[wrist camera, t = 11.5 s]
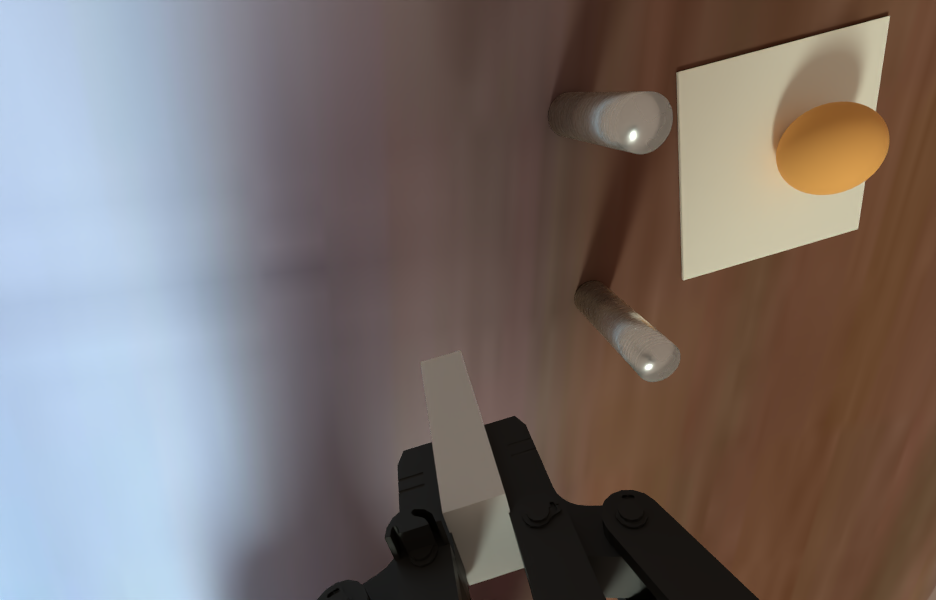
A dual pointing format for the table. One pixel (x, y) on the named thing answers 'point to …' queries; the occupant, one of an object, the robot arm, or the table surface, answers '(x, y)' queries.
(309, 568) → the table surface
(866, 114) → the ball
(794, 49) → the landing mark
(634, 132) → the post
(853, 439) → the table surface
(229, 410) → the table surface
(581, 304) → the post
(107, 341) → the table surface
